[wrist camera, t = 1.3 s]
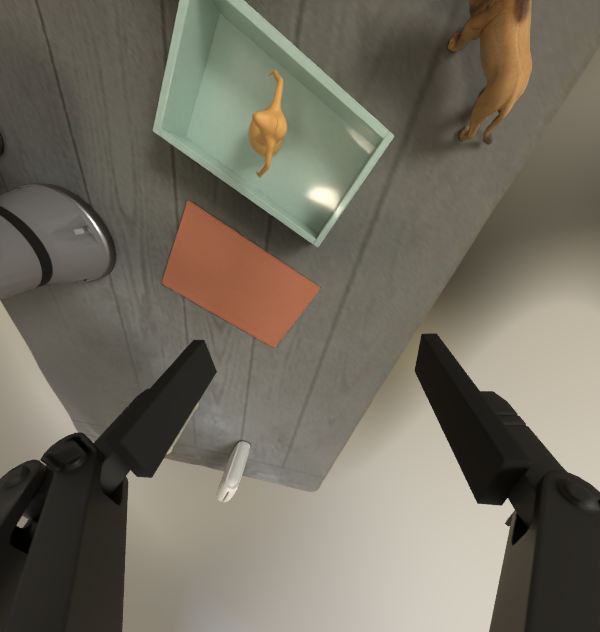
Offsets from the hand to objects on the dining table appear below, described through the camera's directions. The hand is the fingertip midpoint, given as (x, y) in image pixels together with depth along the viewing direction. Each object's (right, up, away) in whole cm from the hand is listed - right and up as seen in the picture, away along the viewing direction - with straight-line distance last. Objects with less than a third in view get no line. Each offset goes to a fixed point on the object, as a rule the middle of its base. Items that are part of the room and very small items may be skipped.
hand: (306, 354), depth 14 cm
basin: (-3, +25, +14) cm, 29 cm away
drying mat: (-11, +8, +25) cm, 29 cm away
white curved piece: (-18, -37, +52) cm, 67 cm away
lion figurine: (+17, +28, +10) cm, 35 cm away
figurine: (-3, +24, +14) cm, 29 cm away
